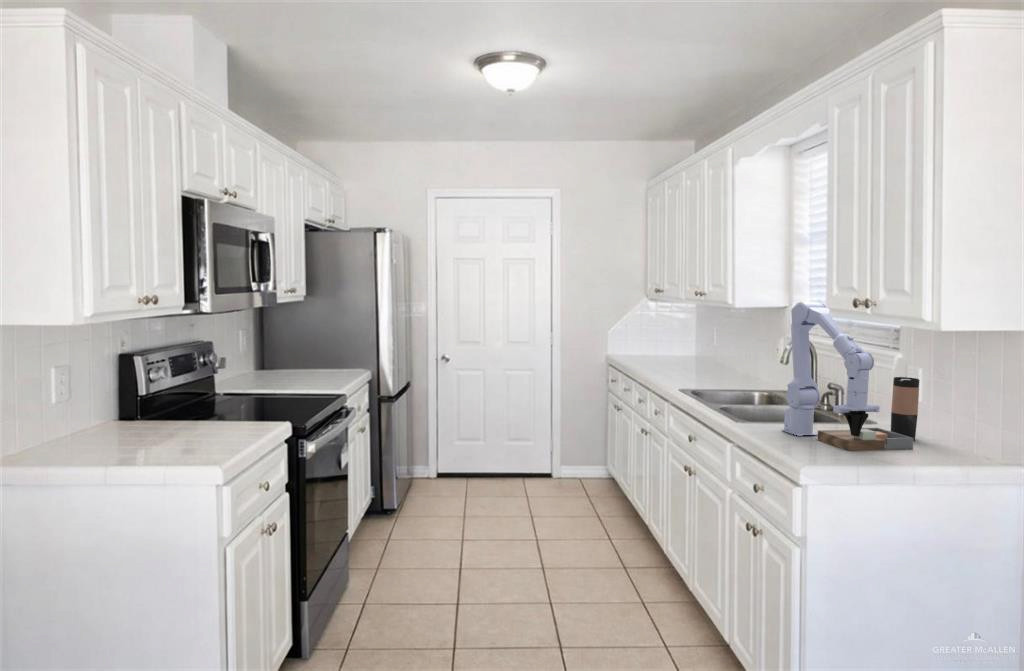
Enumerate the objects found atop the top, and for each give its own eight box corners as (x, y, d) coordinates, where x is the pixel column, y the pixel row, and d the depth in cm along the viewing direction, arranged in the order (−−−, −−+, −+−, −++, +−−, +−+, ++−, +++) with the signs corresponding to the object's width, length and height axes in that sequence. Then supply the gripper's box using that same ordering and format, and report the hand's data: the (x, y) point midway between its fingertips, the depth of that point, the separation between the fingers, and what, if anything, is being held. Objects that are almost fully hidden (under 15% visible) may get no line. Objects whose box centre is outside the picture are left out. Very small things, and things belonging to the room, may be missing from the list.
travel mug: (912, 437, 244) (916, 377, 242) (918, 442, 237) (922, 380, 235) (887, 435, 246) (890, 376, 245) (892, 440, 239) (896, 379, 237)
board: (817, 439, 237) (817, 430, 237) (850, 438, 240) (850, 429, 239) (849, 451, 222) (850, 441, 221) (884, 450, 224) (885, 440, 224)
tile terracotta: (878, 431, 238) (877, 438, 238) (865, 431, 237) (865, 438, 237) (887, 434, 234) (887, 441, 234) (875, 434, 233) (875, 442, 233)
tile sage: (853, 436, 228) (853, 429, 228) (865, 436, 229) (866, 428, 229) (862, 440, 224) (863, 432, 223) (875, 439, 224) (876, 431, 224)
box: (850, 438, 240) (850, 428, 239) (877, 438, 242) (877, 427, 241) (884, 450, 224) (885, 438, 224) (912, 449, 226) (913, 438, 226)
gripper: (844, 394, 219) (842, 438, 220) (887, 393, 222) (884, 437, 223) (830, 390, 226) (827, 433, 227) (871, 390, 229) (869, 433, 230)
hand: (854, 435), depth 226 cm, fingers closed
